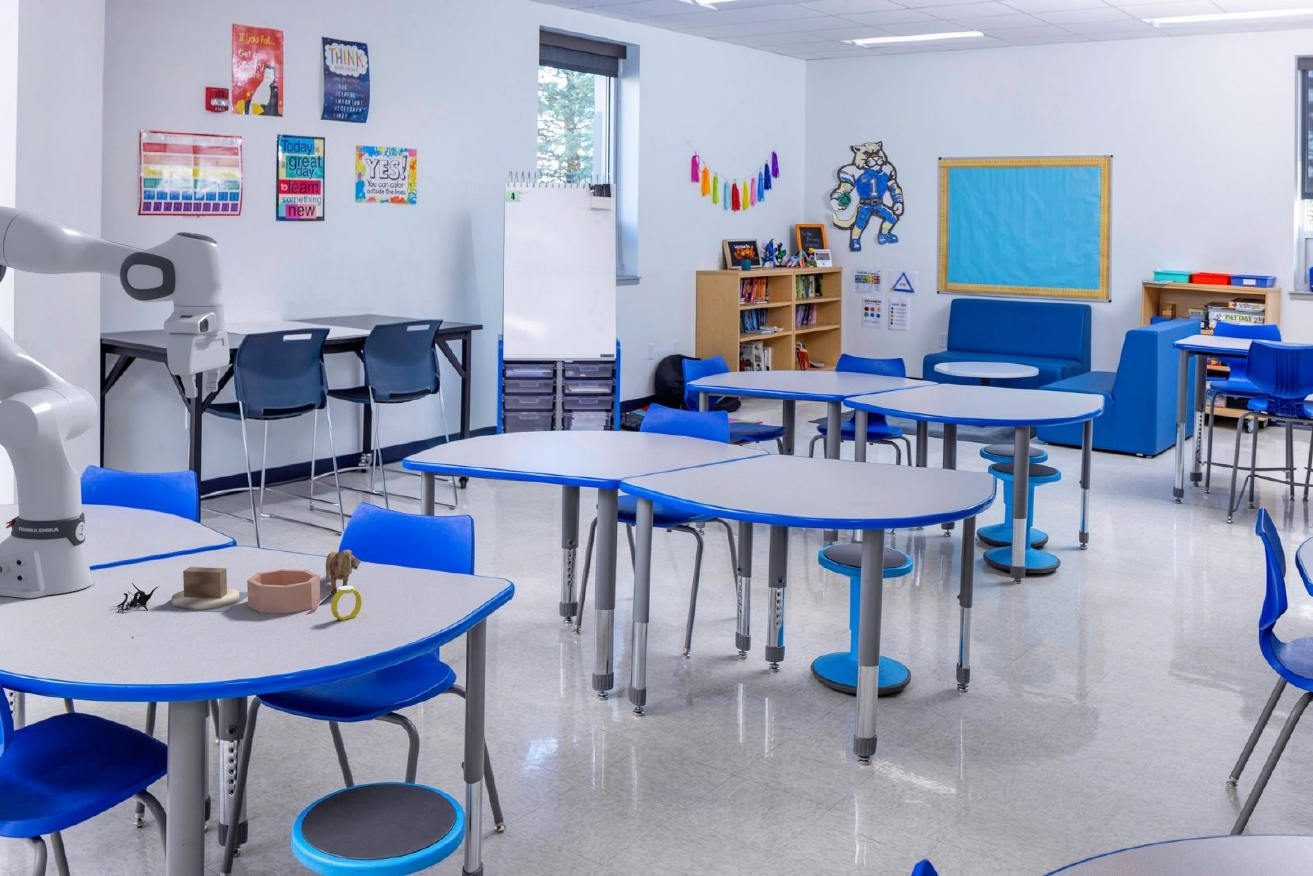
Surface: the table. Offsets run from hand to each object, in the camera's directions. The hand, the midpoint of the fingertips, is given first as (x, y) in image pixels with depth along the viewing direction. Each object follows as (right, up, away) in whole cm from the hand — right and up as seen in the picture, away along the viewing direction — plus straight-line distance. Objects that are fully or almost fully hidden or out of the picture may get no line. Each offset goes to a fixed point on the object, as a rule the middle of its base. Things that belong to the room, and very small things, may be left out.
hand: (201, 394), depth 234 cm
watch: (+29, -42, -5) cm, 51 cm away
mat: (+1, -40, 0) cm, 40 cm away
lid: (+1, -39, 0) cm, 39 cm away
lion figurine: (+22, -38, +14) cm, 47 cm away
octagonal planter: (+16, -40, -1) cm, 43 cm away
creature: (-10, -41, -6) cm, 42 cm away
